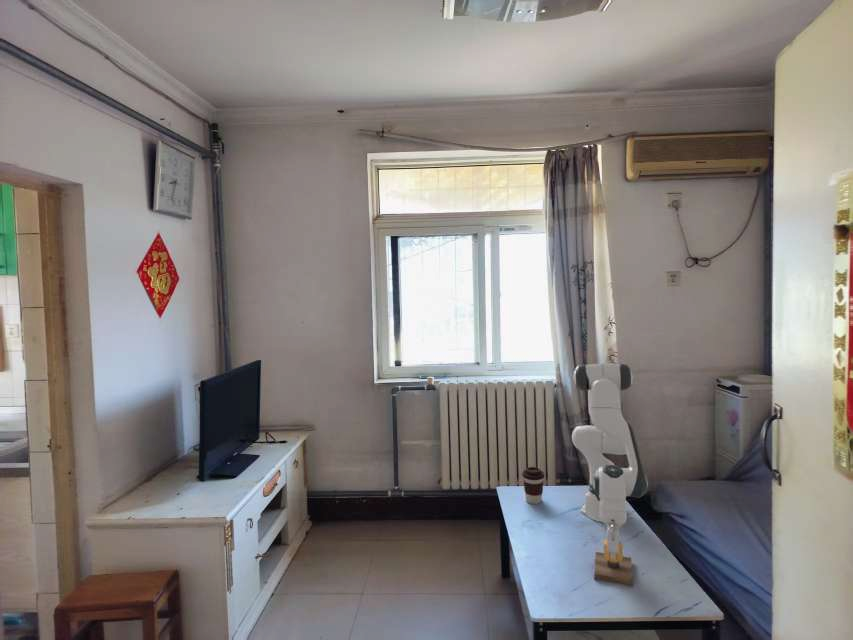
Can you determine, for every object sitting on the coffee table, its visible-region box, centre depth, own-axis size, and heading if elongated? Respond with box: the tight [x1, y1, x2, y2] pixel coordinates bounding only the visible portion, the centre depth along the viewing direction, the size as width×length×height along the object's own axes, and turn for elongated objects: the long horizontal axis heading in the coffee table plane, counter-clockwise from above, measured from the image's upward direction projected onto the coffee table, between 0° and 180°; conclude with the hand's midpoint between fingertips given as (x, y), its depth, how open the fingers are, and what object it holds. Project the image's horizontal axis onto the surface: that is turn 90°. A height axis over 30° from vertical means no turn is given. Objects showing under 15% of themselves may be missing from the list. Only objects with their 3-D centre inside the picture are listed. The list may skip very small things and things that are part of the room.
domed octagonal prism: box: [603, 538, 624, 562], centre depth 167 cm, size 6×6×5 cm
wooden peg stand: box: [593, 551, 634, 587], centre depth 167 cm, size 14×12×9 cm
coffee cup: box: [522, 466, 545, 505], centre depth 222 cm, size 10×10×15 cm
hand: (613, 551), depth 167 cm, fingers closed on domed octagonal prism, 6 cm apart
